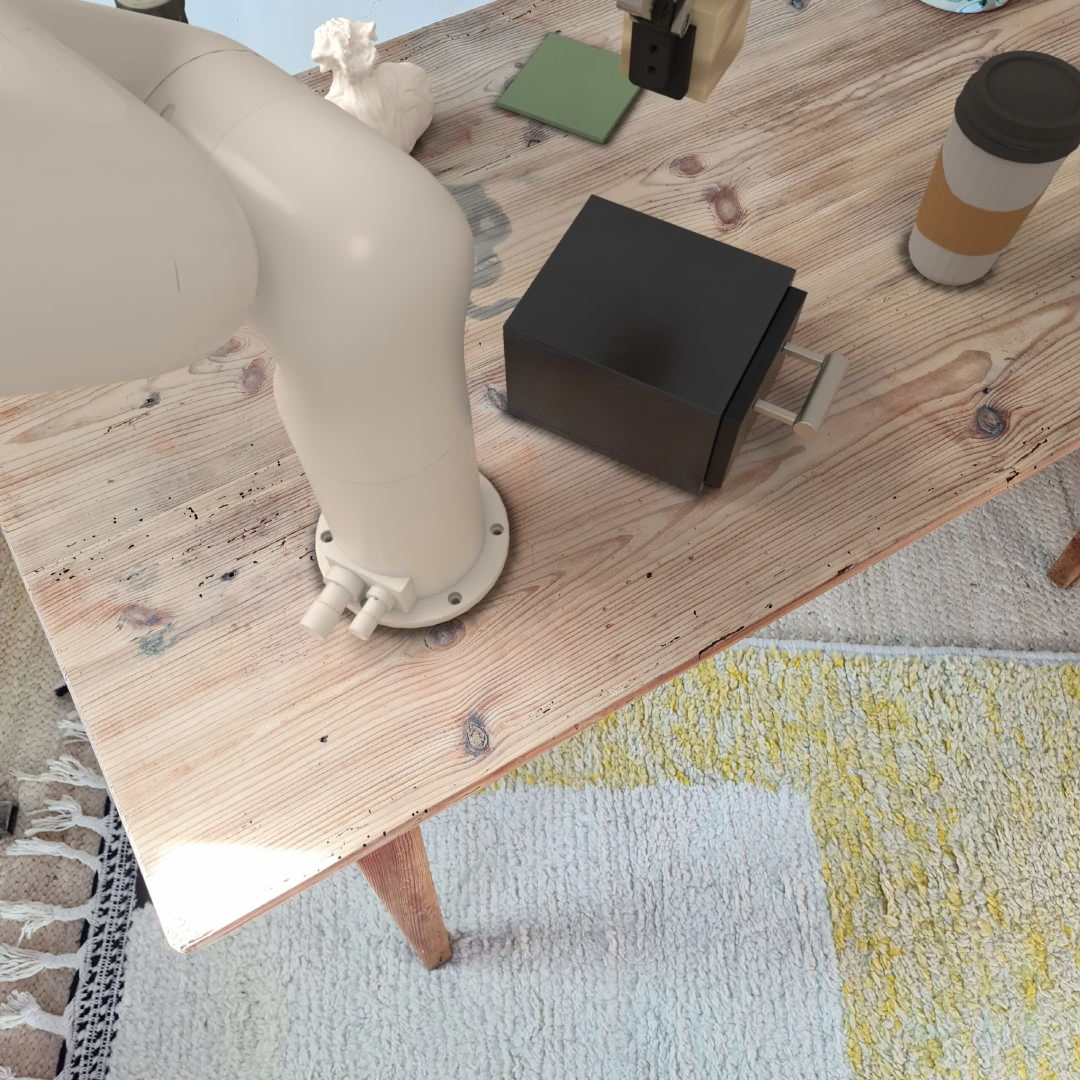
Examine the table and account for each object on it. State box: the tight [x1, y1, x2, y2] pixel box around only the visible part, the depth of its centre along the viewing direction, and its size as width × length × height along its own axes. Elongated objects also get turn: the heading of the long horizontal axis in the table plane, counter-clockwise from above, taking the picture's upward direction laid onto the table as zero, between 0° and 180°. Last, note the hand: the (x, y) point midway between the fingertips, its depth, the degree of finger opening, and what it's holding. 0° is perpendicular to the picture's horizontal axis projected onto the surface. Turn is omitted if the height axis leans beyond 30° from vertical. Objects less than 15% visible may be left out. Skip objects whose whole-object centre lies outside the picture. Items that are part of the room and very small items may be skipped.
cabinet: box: [502, 194, 797, 496], centre depth 66 cm, size 15×13×10 cm
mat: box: [497, 32, 642, 145], centre depth 84 cm, size 10×10×1 cm
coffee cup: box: [907, 49, 1080, 287], centre depth 68 cm, size 8×8×15 cm
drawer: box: [704, 286, 851, 490], centre depth 65 cm, size 18×11×8 cm, turn 63°
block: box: [620, 0, 752, 104], centre depth 50 cm, size 5×5×5 cm
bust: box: [310, 17, 435, 155], centre depth 77 cm, size 12×8×11 cm
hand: (681, 52), depth 52 cm, fingers closed on block, 5 cm apart
